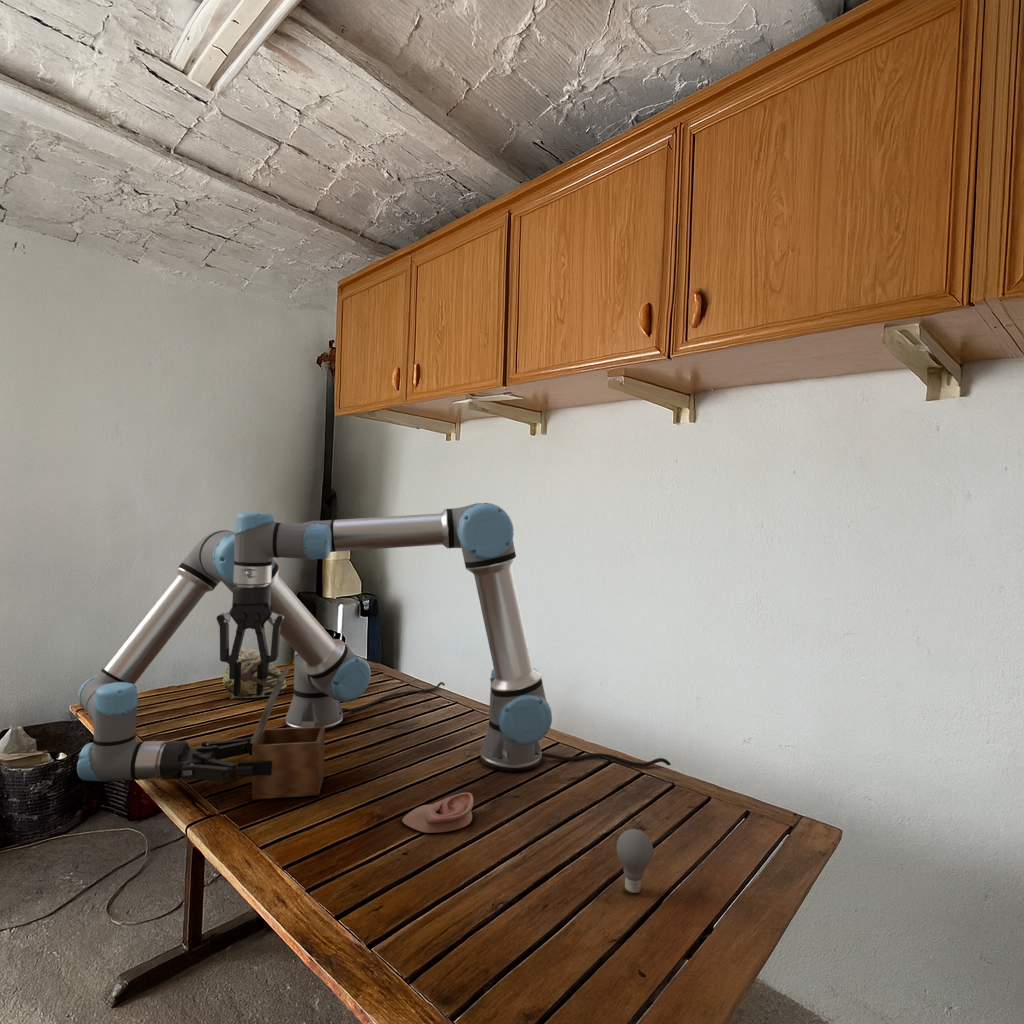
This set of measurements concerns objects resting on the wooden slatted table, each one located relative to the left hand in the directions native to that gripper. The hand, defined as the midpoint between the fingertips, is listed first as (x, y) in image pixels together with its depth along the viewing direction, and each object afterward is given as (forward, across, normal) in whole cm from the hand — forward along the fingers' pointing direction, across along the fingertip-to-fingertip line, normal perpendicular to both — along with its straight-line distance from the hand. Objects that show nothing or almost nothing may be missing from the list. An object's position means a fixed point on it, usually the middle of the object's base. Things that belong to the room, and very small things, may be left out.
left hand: (276, 757), depth 137 cm
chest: (+3, 0, -6) cm, 7 cm away
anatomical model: (+34, +17, -7) cm, 39 cm away
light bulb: (+65, +43, -7) cm, 78 cm away
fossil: (-18, -66, -7) cm, 68 cm away
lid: (-1, 0, +11) cm, 11 cm away
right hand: (-6, 0, +14) cm, 15 cm away
